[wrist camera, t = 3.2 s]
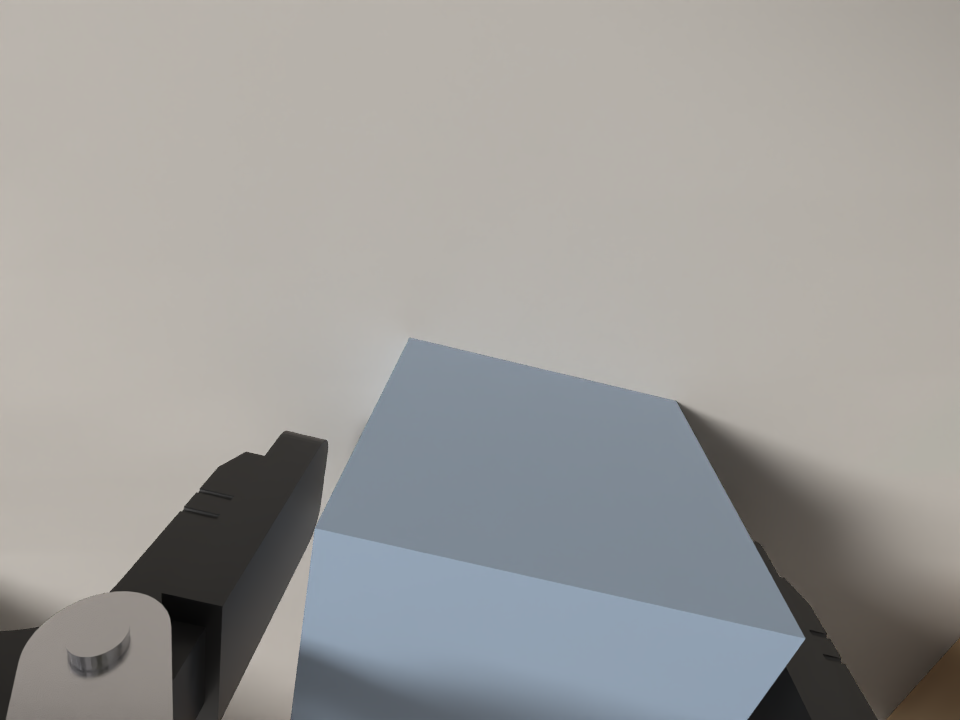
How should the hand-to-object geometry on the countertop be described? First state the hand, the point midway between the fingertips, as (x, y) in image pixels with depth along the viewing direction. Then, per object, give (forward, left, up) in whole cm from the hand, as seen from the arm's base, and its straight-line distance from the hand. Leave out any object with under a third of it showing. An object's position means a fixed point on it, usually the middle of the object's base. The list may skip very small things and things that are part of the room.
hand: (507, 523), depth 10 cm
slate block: (0, 0, -1) cm, 1 cm away
